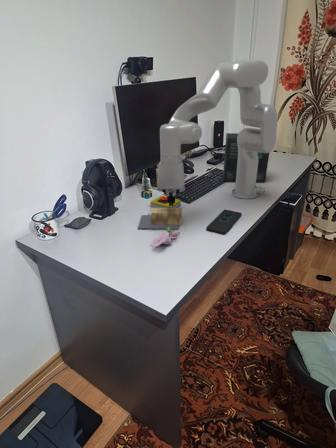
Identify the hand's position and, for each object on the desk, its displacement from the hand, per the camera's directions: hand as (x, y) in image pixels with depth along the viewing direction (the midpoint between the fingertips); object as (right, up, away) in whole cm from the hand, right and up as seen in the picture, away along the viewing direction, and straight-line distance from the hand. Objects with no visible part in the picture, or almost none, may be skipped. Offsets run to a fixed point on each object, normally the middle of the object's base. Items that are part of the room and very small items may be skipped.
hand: (171, 204), depth 122 cm
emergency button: (-2, 0, +19) cm, 19 cm away
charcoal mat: (-5, -7, +4) cm, 10 cm away
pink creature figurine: (-2, -15, -10) cm, 18 cm away
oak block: (+4, -5, +2) cm, 7 cm away
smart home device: (+22, -8, +4) cm, 23 cm away
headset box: (+41, +17, +50) cm, 67 cm away
